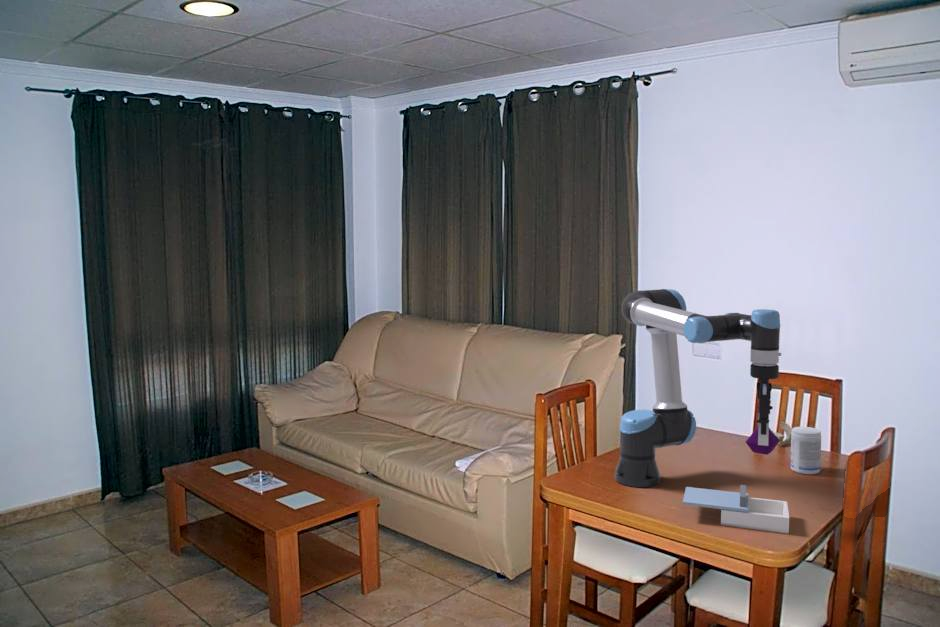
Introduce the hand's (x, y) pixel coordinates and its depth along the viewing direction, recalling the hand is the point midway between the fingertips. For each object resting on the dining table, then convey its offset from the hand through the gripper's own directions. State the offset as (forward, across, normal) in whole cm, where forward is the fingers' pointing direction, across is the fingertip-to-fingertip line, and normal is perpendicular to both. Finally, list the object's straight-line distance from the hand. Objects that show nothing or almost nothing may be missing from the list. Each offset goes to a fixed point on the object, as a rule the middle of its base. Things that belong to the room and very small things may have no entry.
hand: (762, 440), depth 208 cm
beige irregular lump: (+24, +80, -8) cm, 84 cm away
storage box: (+24, -1, +2) cm, 24 cm away
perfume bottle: (+4, 0, 0) cm, 4 cm away
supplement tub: (+24, +51, -15) cm, 58 cm away
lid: (+19, -1, +13) cm, 23 cm away
